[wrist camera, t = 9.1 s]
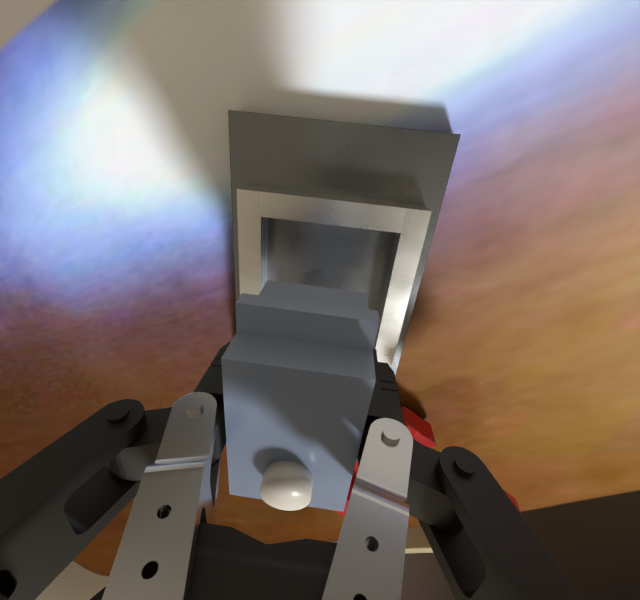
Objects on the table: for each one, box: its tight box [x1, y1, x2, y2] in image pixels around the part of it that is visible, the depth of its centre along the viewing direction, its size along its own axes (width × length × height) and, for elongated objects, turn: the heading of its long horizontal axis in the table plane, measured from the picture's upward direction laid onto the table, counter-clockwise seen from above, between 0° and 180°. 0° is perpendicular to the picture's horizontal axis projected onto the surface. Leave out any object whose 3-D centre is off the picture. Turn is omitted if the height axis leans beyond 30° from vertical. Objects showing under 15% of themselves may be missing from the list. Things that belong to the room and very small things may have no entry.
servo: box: [221, 280, 380, 512], centre depth 11 cm, size 4×8×6 cm, turn 174°
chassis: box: [228, 110, 461, 374], centre depth 19 cm, size 11×18×3 cm, turn 175°
